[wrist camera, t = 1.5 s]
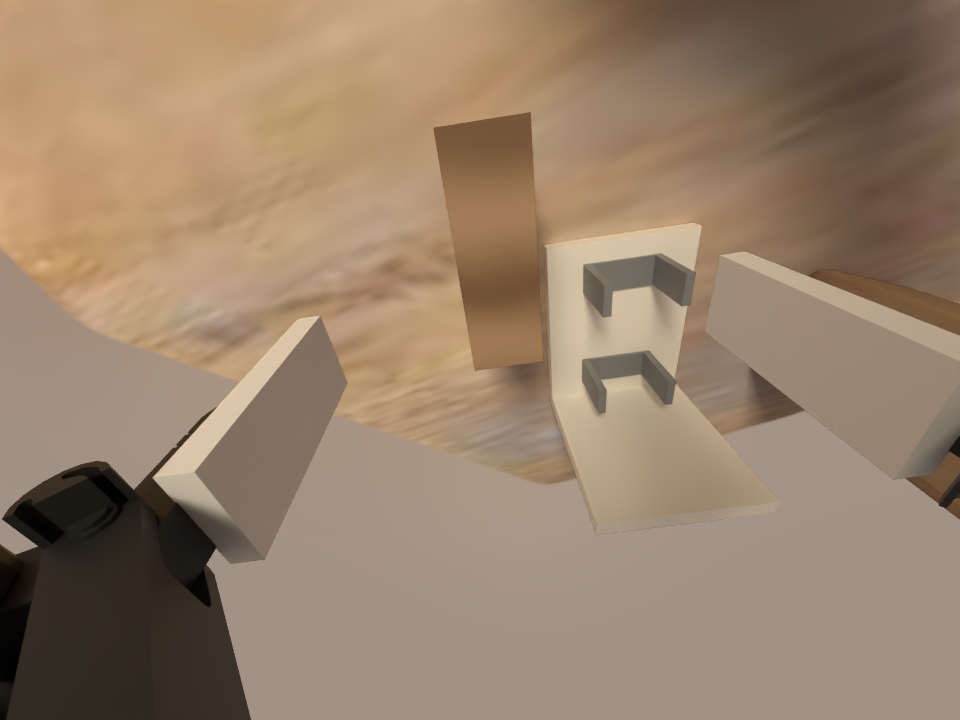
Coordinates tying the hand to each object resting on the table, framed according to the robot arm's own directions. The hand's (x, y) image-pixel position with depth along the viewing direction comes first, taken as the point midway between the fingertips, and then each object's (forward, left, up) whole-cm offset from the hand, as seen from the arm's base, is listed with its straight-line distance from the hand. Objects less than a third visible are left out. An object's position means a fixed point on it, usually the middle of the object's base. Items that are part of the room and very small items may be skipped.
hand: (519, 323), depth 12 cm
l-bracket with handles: (+10, +10, -18) cm, 23 cm away
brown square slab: (0, 0, -19) cm, 19 cm away
